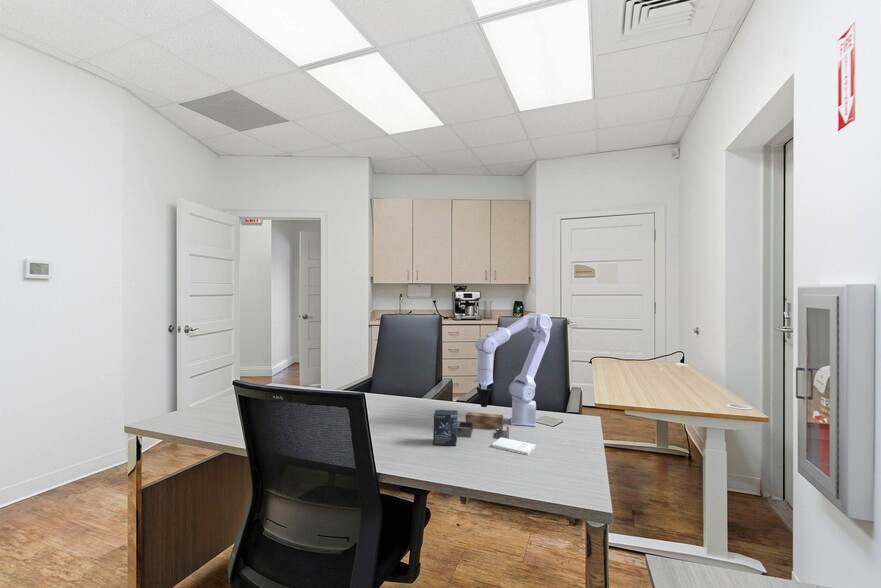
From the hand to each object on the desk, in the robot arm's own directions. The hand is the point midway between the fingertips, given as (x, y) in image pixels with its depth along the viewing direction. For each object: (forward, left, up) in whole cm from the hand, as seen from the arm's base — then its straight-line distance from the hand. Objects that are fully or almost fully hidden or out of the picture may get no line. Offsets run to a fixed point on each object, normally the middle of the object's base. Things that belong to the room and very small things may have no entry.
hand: (484, 404), depth 157 cm
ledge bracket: (-7, +8, -9) cm, 14 cm away
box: (+12, +19, -9) cm, 24 cm away
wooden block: (0, 0, -9) cm, 9 cm away
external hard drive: (-11, +18, -10) cm, 23 cm away
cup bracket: (+6, +8, -9) cm, 14 cm away
